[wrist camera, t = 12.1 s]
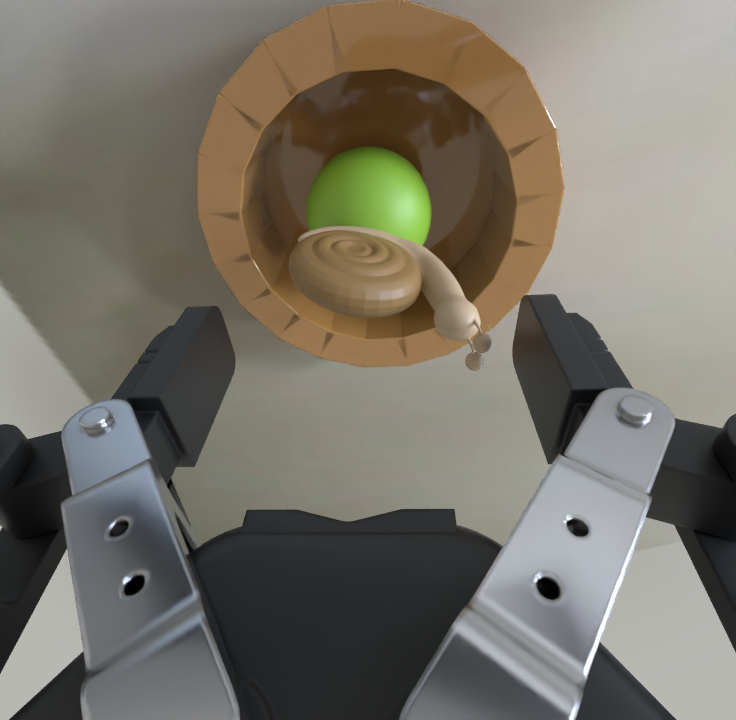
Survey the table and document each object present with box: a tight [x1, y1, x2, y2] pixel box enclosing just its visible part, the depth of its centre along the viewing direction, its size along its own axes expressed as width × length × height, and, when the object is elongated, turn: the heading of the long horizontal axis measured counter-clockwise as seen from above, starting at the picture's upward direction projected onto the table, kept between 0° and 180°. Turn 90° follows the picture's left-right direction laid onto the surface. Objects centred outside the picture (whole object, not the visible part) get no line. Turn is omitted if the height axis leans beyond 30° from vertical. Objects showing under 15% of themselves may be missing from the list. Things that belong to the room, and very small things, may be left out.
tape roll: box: [197, 0, 565, 367], centre depth 20 cm, size 15×15×4 cm
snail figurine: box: [289, 146, 491, 371], centre depth 17 cm, size 5×6×12 cm
